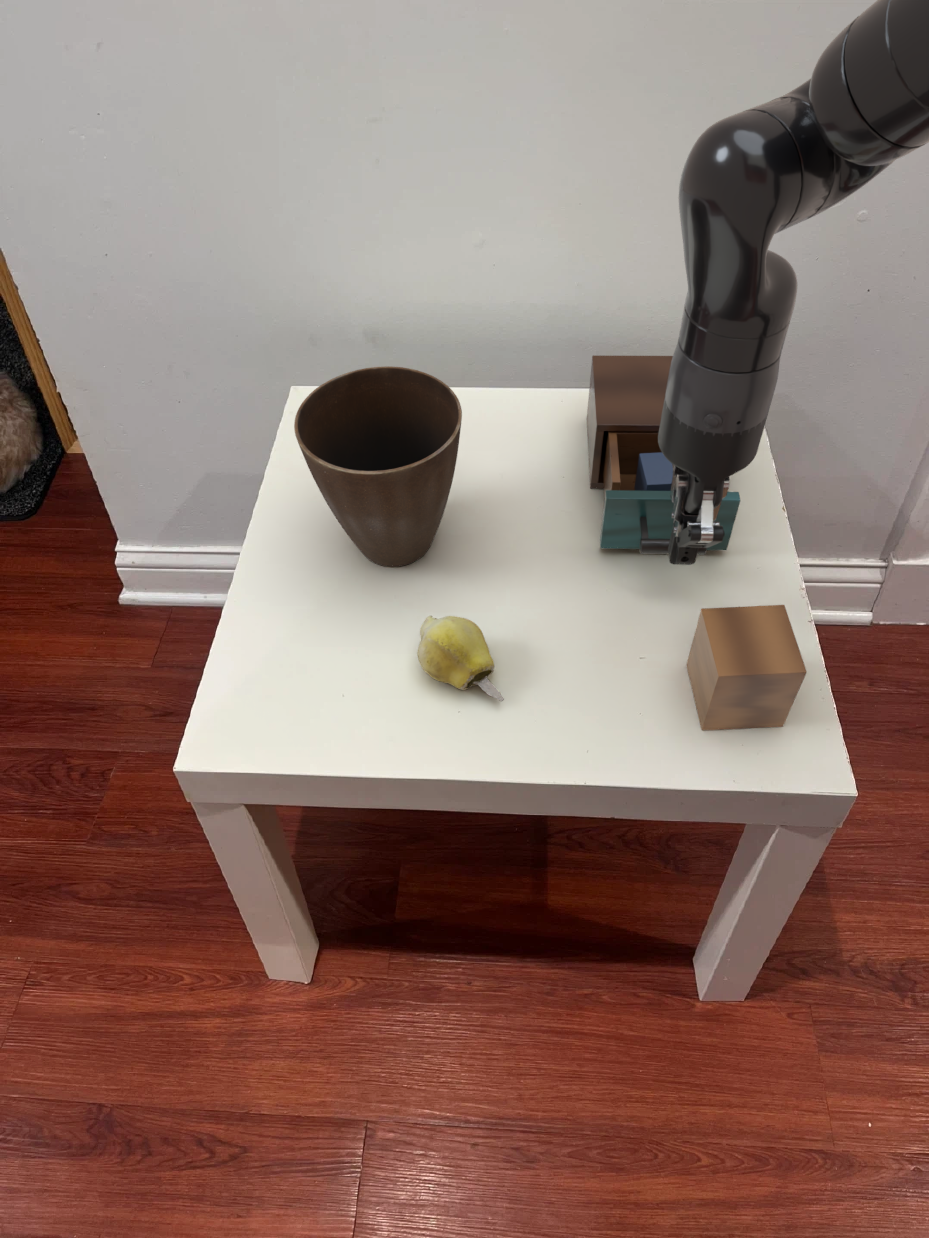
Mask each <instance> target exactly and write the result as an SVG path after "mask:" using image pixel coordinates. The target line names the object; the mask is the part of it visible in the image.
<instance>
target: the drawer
mask: <svg viewBox="0 0 929 1238" xmlns="http://www.w3.org/2000/svg"><path fill="white" fill-rule="evenodd" d="M658 433H659V431H608V436H607V444H606V453H605V462H604V471H603V482H604V489H603V495H604V496H603V497H604V501H603V508H602V509H603V510H602V518H601V519H602V520H601V527H600V535H599V548H600V549H608V550H609V549H614V550H617V549H618V550H619V549H621V550H638V551H639V554H645V555H646V554H651V555H653V554H655V555H656V554H658V555H669V552H668V547H669V542H670V537H671V533H672V528H673V521H672V518H671V513H672V512H673V504H674V503H672V500H671V498H670V494H671V491H635V488H634V487H635V480H636V474H637V467H638V460H639V454H640V453H660V452H662V451H661V449H660V447H659V444H658ZM740 503H741V497H740V492H739V491H728V492H727V495H726V497H725V498H723V499H722V502H721V505H720V508H719V512H718V515H717V518H716V520H715V521H713V522H719V523H720V526H723V530H724V532H725V535H724V537H723V541H722V542H720V543H718V544H715V545H713V546H711V547H709V548H700V547H699V548H698V552H697V555H706V554H707V552H708V551H728V546H729V543H730V539H731V536H732V532H733V529H734V525H735V522H736V518H737V514H738V511H739V507H740Z"/></svg>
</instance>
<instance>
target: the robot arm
mask: <svg viewBox="0 0 929 1238" xmlns="http://www.w3.org/2000/svg"><path fill="white" fill-rule="evenodd" d="M928 143H929V0H876V1H874V2H873V3H872V4H870V6H868V7H867V8H866V9H865V10H864V11H862V13H860V15H858V16H857V17H856V18H854V19H853V20H852V21H851V22H850V23H848V25H846V27H844V28H843V29H842V30H841V31H840V32H839V33H838V34H837V35H836V36H835V37H834V38H833V39H832V41H830V43H829V44H828V45H827V46H826V47H825V49H824V50H823V51H822V52H821V55H820V56H819V58H818V60H817V61H816V64H815V66H814V68H813V71H812V73H811V77H810V78H809V79H807V80H806V81H805V82H803V83H802V84H800V85H799V86H797V87H796V88H794V89H792V90H791V91H788V92H786V93H785V94H783V95H781V96H779V97H776V98H774V99H772V100H769V101H767V102H764V103H762V104H759V105H756V106H752V107H750V108H748V109H745V110H742V111H740V112H737V113H735V114H732V115H729V116H727V117H724V118H722V119H720V120H718V121H716V122H714V123H713V124H711V125H710V126H709V127H707V128H706V129H705V130H703V132H702V133H701V134H700V136H699V137H698V138H697V139H696V141H695V142H694V143H693V145H692V147H691V149H690V152H689V153H688V154H687V158H686V160H685V163H684V165H683V168H682V172H681V174H680V179H679V183H678V184H679V185H678V197H677V198H678V211H679V212H678V214H679V222H680V231H681V238H682V239H681V240H682V248H683V249H682V250H683V258H684V259H683V260H684V261H683V262H684V266H685V274H686V282H687V292H686V296H685V302H684V306H683V312H682V317H681V322H680V323H681V324H680V327H679V328H680V329H679V335H678V339H677V344H676V347H675V349H674V352H673V354H672V356H673V358H672V361H671V365H670V369H669V375H668V381H667V387H666V392H665V398H664V404H663V410H662V416H661V421H660V427H659V433H658V444H659V447H660V449H661V451H662V453H663V455H664V456H665V457H666V458H667V459H668V460H669V461H670V462H671V463H672V467H673V477H672V484H671V490H670V491H671V494H670V498H671V500H672V503H674V504H673V512H672V513H671V518H672V521H673V528H672V533H671V537H670V542H669V547H668V552H669V554H668V560H669V563H670V564H671V565H673V566H675V565H676V566H678V565H680V566H683V565H684V566H690V565H694V564H695V563H696V560H697V556H698V554H697V552H698V548H699V547H700V548H709V547H711V546H713V545H715V544H718V543H720V542H722V541H723V537H724V535H725V532H724V530H723V526H720V523H719V522H713V521H715V520H716V518H717V515H718V512H719V508H720V505H721V502H722V499H723V498H725V497H726V495H727V492H729V490H730V489H729V488H730V479H731V478H730V477H731V476H733V475H734V474H736V473H738V472H741V471H742V470H744V469H746V468H747V467H748V466H749V465H750V464H751V463H752V462H753V461H754V459H755V458H756V455H757V453H758V450H759V447H760V443H761V440H762V436H763V433H764V429H765V426H766V423H767V419H768V416H769V412H770V408H771V406H772V401H773V398H774V394H775V391H776V387H777V383H778V379H779V378H778V377H779V372H780V365H781V364H780V362H781V358H782V357H781V356H782V353H783V348H784V345H785V341H786V337H787V334H788V330H789V327H790V325H791V324H790V323H791V321H792V320H791V319H792V316H793V313H794V309H795V305H796V302H797V301H796V300H797V295H798V294H797V293H798V285H799V284H798V279H797V273H796V271H795V269H794V267H793V266H792V264H791V263H790V261H788V260H787V259H786V258H785V257H783V256H782V255H780V254H778V253H777V252H774V251H772V250H769V248H770V245H771V242H772V241H773V238H774V235H776V234H778V233H780V232H782V231H785V230H787V229H789V228H791V227H793V226H795V225H798V224H801V223H802V222H804V221H807V220H809V219H811V218H814V217H816V216H817V215H820V214H821V213H823V212H825V211H827V210H828V209H830V208H832V207H834V206H835V205H837V204H839V203H840V202H842V201H844V200H845V199H847V198H849V197H850V196H851V195H853V194H854V193H856V192H857V191H858V190H860V189H862V188H863V187H864V186H866V185H867V184H868V183H869V182H871V181H872V180H873V179H874V178H876V177H877V176H878V175H879V174H881V173H882V172H883V171H884V170H886V169H887V168H888V167H889V166H891V165H892V164H893V163H894V162H895V161H897V160H898V159H901V158H903V157H905V156H907V155H909V154H911V153H912V152H914V151H916V150H918V149H919V148H922V147H923V146H925V145H927V144H928Z"/></svg>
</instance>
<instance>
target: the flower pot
mask: <svg viewBox="0 0 929 1238" xmlns="http://www.w3.org/2000/svg"><path fill="white" fill-rule="evenodd" d="M301 402H302V403H300V406H299V407H298V409H297V412H296V413H295V417H294V423H293V429H294V436H295V438H296V441H297V444H298V446H299V448H300V451H301V453H302V455H303V458H304V461H305V463H306V466H307V468H308V470H309V472H310V475H311V476H312V479H313V480H314V482H315V484H316V486H317V488H318V490H319V492H320V493H321V495H322V497H323V499H324V501H325V503H326V504H327V505H328V508H329V509H330V511H331V513H332V514H333V516H334V517H335V519H336V520H337V522H338V523H339V525H340V526H341V528H342V529H343V531H344V532H345V534H346V535H347V536H348V537H349V539H350V540H351V541H352V543H353V544H354V545H355V546H356V547H357V549H358V550H359V551H360V552H361V553H362V554H363V556H364V557H365V558H366V559H367V560H369V561H370V562H372V563H374V564H376V565H379V566H383V567H389V568H397V567H404V566H407V565H410V564H413V563H415V562H416V561H419V560H421V558H423V557H424V555H426V554H427V552H428V551H429V549H430V548H431V545H432V543H433V541H434V540H435V537H436V534H437V533H438V530H439V527H440V525H441V522H442V519H443V517H444V513H445V510H446V507H447V503H448V500H449V497H450V492H451V489H452V484H453V480H454V475H455V471H456V464H457V459H458V453H459V446H460V437H461V428H462V420H463V410H462V405H461V402H460V400H459V398H458V396H457V395H456V393H455V392H454V391H453V390H452V388H451V387H450V386H448V385H447V384H446V383H445V382H444V381H443V380H441V379H440V378H437V377H435V376H433V375H431V374H429V373H426V372H424V371H421V370H418V369H413V368H408V367H403V366H387V365H386V366H371V367H365V368H360V369H355V370H351V371H348V372H347V373H342V374H340V375H338V376H335V377H333V378H331V379H328V380H327V381H325V382H323V383H321V385H318V386H317V387H316V388H315V389H314V390H313V391H311V392H310V393H309V394H307V396H306V398H304V400H303V401H301Z"/></svg>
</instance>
